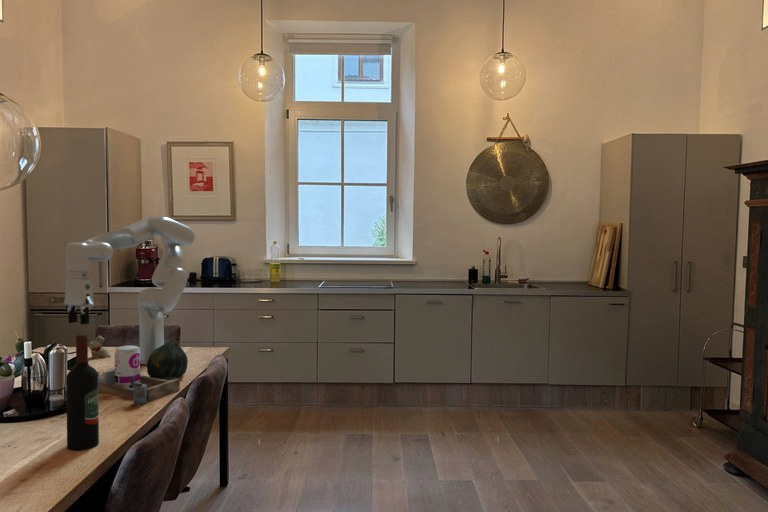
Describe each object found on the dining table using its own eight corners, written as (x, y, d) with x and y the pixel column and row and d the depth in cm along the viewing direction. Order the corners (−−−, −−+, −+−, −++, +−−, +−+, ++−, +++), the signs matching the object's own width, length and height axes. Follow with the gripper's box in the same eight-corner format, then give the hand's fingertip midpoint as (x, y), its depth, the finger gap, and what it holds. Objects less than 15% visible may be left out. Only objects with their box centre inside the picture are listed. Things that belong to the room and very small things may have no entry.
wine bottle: (75, 439, 152) (73, 332, 150) (103, 439, 153) (102, 332, 151) (61, 451, 145) (59, 338, 143) (91, 450, 145) (90, 338, 143)
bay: (127, 380, 208) (127, 357, 207) (182, 390, 197) (182, 366, 197) (82, 394, 190) (82, 369, 190) (139, 406, 180) (139, 379, 179)
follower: (101, 376, 210) (101, 361, 210) (128, 382, 205) (128, 366, 204) (77, 383, 201) (77, 367, 201) (105, 389, 196) (105, 372, 195)
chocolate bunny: (97, 355, 244) (97, 332, 243) (112, 356, 242) (112, 334, 241) (87, 358, 239) (87, 335, 238) (102, 359, 237) (102, 336, 236)
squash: (133, 364, 210) (153, 338, 205) (164, 357, 224) (183, 332, 219) (152, 393, 206) (173, 367, 201) (183, 384, 219) (202, 359, 215)
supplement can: (145, 386, 201) (144, 346, 200) (127, 393, 193) (127, 351, 192) (127, 383, 203) (127, 343, 202) (109, 390, 196) (109, 348, 195)
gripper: (103, 276, 206) (103, 323, 207) (71, 273, 212) (72, 319, 214) (85, 277, 199) (85, 327, 200) (53, 274, 205) (53, 322, 207)
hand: (78, 322), depth 207 cm, fingers open, 5 cm apart
